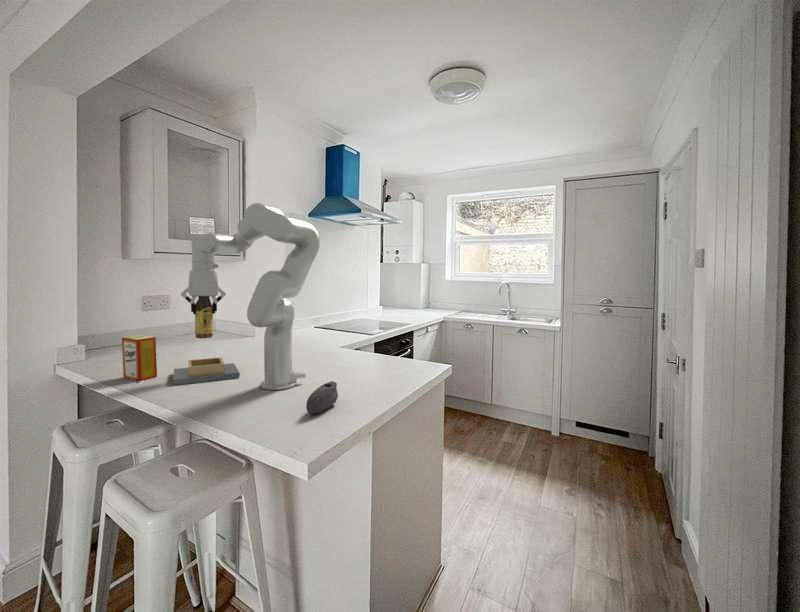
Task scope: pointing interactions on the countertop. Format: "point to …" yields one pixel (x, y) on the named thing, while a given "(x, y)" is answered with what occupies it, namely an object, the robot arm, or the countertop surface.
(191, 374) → the wooden tray on slab
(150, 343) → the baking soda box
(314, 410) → the perforated stone tool
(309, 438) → the countertop surface
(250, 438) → the countertop surface
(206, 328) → the sauce bottle
